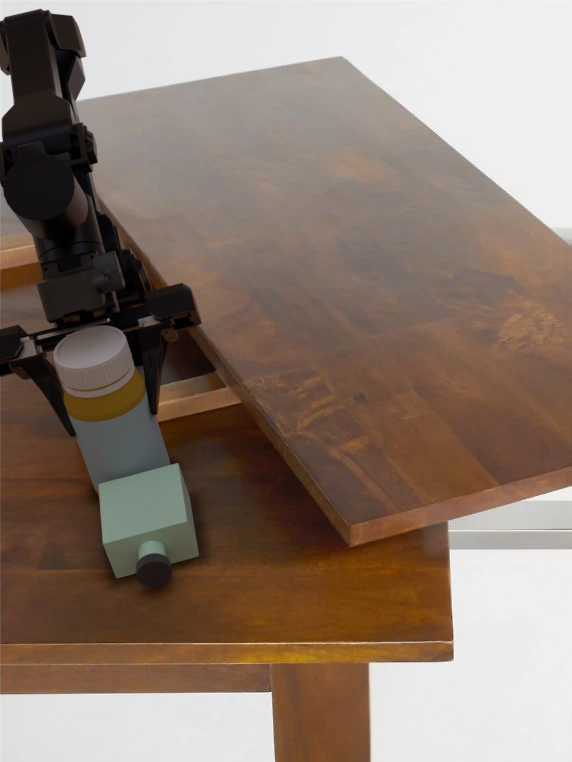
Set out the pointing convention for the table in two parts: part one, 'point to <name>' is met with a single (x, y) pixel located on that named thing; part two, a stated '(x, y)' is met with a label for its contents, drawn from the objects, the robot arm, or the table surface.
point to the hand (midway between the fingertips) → (113, 425)
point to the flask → (147, 524)
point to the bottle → (108, 405)
